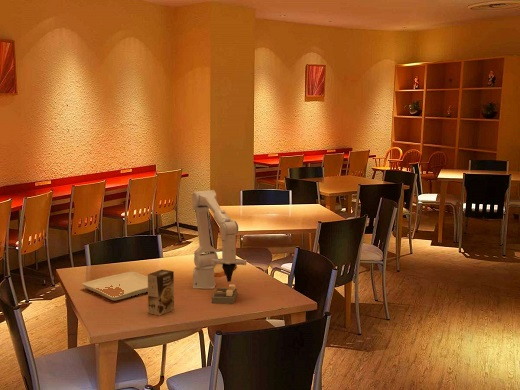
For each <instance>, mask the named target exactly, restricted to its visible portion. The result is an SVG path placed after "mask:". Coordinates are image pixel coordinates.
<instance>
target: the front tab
mask: <svg viewBox="0 0 520 390" xmlns="http://www.w3.org/2000/svg"><path fill="white" fill-rule="evenodd" d="M232 295H233V290H232V289H227V291H226V296H232Z"/></svg>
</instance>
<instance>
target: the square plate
mask: <svg viewBox="0 0 520 390" xmlns="http://www.w3.org/2000/svg"><path fill="white" fill-rule="evenodd" d="M119 284H120V286H119ZM111 285H112V286H113V287H110V286H111ZM81 286H83V287H84V288H85V289H87V290H89V291H92V292H94V293H97V294H98V295H100V296H103V297H105V298H107V299H109V300H111V301H119V300H124V299H127V298H132V297H135V295H136V296H139V295H143V294H147V293H148V275H144V274H142V273H138V272H135V271H128V272H122V273H119V274H113V275H108V276H103V277H99V278H96V279H92V280H89V281H88V280H87V281H84V282H82V283H81ZM105 287H110V288H113V289H115V288H116V287H119V288H121V289H122V290H124V294H123V295H120V294H119V295H120V296H115V297H114V296H113V297H112V296H110V295H108V294H106V293H104V292H102V291H100V290H98V289H96V288H99V289H102V290H103V289H108V288H105ZM146 292H147V293H146ZM120 293H122V292H120ZM142 293H143V294H142ZM138 294H139V295H138ZM131 296H132V297H131Z"/></svg>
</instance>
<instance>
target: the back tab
mask: <svg viewBox="0 0 520 390" xmlns="http://www.w3.org/2000/svg"><path fill="white" fill-rule="evenodd" d="M228 288H229V289H232V290H233V291H234V290H235V288H236V284H233V283H232V284H231V283H230V284H229V285H228Z"/></svg>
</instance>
